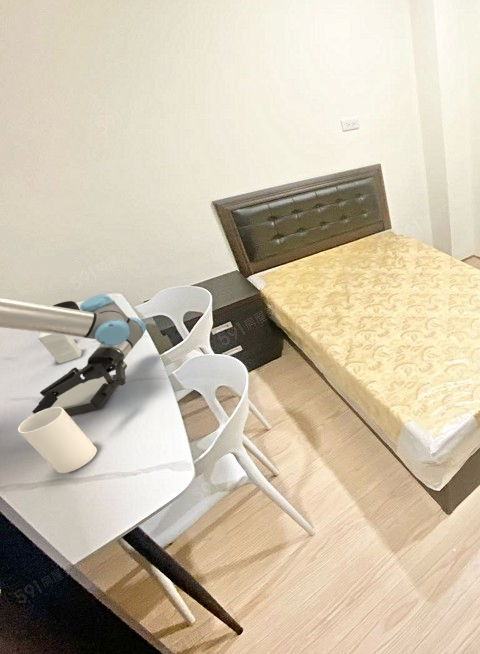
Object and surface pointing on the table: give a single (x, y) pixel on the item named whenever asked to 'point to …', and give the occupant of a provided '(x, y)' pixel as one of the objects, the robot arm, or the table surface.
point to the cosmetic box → (60, 346)
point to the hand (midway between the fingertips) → (65, 409)
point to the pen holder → (68, 305)
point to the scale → (81, 397)
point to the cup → (58, 439)
